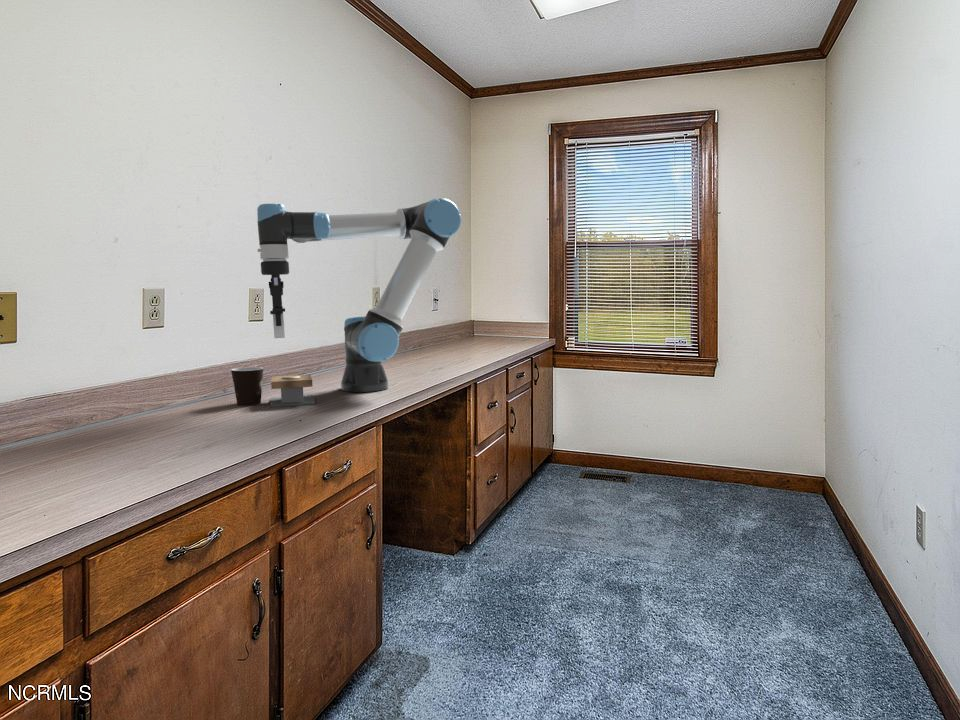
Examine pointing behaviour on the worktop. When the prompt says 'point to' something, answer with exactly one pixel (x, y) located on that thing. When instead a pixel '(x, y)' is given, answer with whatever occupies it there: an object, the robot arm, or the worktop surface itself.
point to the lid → (291, 381)
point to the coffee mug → (248, 385)
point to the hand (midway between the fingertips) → (279, 336)
